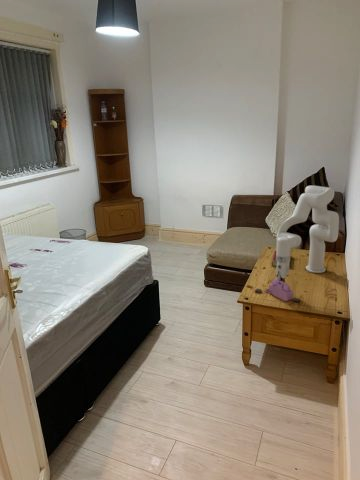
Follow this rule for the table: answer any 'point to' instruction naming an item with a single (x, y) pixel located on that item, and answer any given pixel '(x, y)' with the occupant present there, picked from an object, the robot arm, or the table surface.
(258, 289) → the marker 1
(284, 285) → the toy telephone
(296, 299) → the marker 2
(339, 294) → the table surface
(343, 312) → the table surface
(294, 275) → the table surface
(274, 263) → the hardcover book
